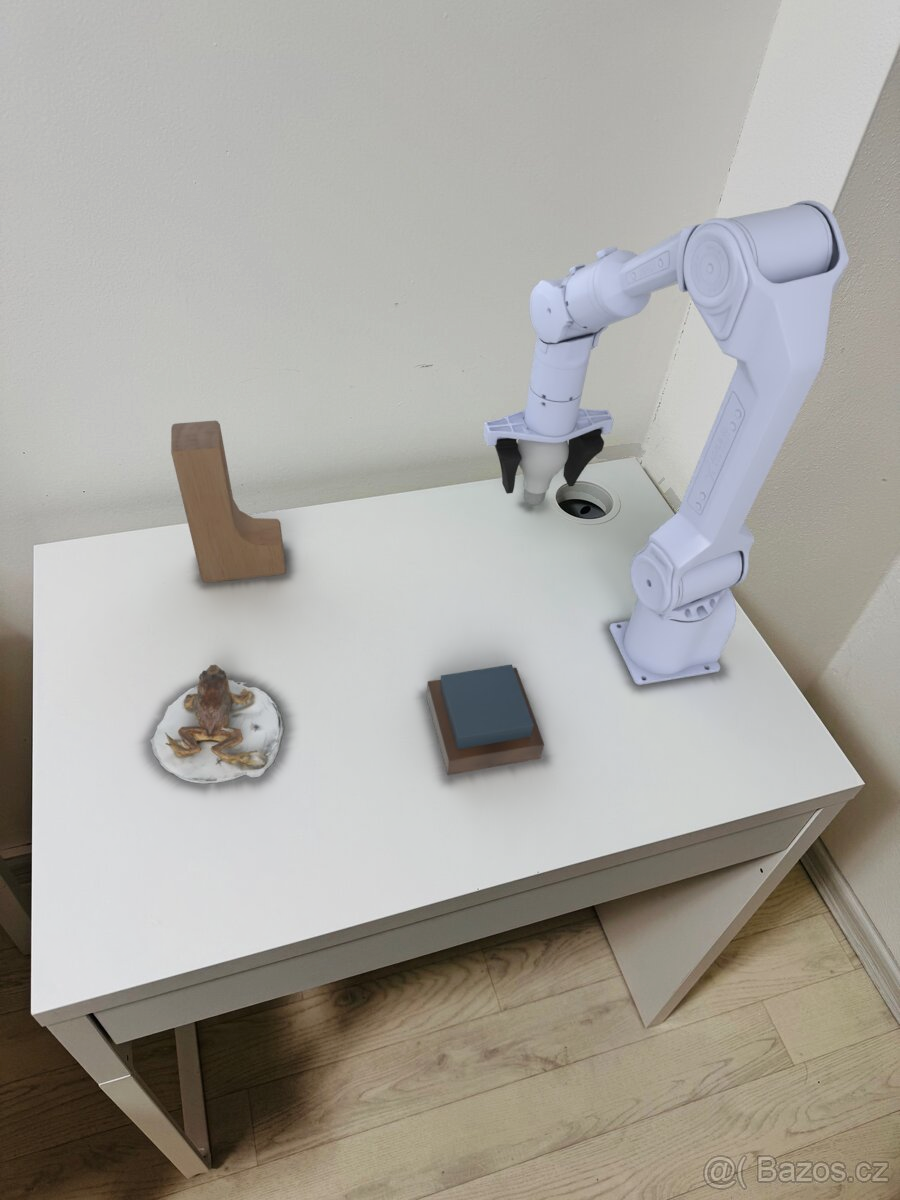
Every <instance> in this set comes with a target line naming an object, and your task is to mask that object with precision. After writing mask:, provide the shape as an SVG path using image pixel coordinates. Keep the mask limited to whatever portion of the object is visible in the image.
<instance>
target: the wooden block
mask: <svg viewBox="0 0 900 1200" xmlns="http://www.w3.org/2000/svg"><path fill="white" fill-rule="evenodd" d="M170 432H171V435H170V438H171V439H170V440H171V441H170V453H171V454H170V455H171V456H172V457H171V458H172V462H173V466H174V470H175V474H176V478H177V482H178V487H179V492H180V496H181V499H182V504H183V508H184V512H185V516H186V520H187V521H186V522H187V524H188V529H189V533H190V537H191V542H192V546H193V549H194V554H195V558H196V562H197V566H198V567H197V568H198V570H199V575H200V579H201V581H202V583H205V584H207V583H216V582H225V581H233V580H243V579H251V578H252V579H253V578H262V577H271V576H280V575H285V574H286V571H287V566H286V557H285V550H284V541H283V534H282V524H281V521H280V520H279V519H278V518H262V517H261V518H260V517H253V516H250V515H249V514H247V513H245V512H243V511H242V510H240V508H239V506H238V505H237V503H236V501H235V499H234V495H233V490H232V489H233V488H232V484H231V479H230V473H229V468H228V462H227V456H226V451H225V444H224V440H223V434H222V429H221V424H220V423H219V421H218V420H205V421H191V422H190V421H189V422H176V423H172V425H171V431H170Z"/></svg>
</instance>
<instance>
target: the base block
mask: <svg viewBox="0 0 900 1200" xmlns="http://www.w3.org/2000/svg"><path fill="white" fill-rule="evenodd" d="M513 669H514V672H515V674H516V677H517V680H518V683H519V686H520V688H521V691H522V694H523V697H524V699H525V702H526V705H527V708H528V711H529V713H530V716H531V719H532V722H533V729H532V733H531V737H526V738H520V739H515V740H509V741H503V742H498V743H492V744H487V745H481V746H475V747H470V748H464V749H458V750H457V747H456V744H455V740H454V736H453V733H452V729H451V726H450V722H449V719H448V715H447V712H446V708H445V705H444V701H443V697H442V694H441V690H440V680H441V678H439V679H433V680H428V681H427V682H426V695H425V697H426V700H427V704H428V708H429V712H430V715H431V719H432V723H433V726H434V731H435V734H436V738H437V741H438V746H439V749H440V753H441V757H442V761H443V764H444V768H445V771H446V775H447V776H451V775H456V774H457V775H458V774H463V773H466V772H467V773H468V772H472V771H473V772H474V771H479V770H484V769H490V768H495V767H500V766H506V765H511V764H516V763H522V762H527V761H533V760H539V759H541V757H542V753H543V750H544V747H545V742H544V740H543V736H542V733H541V732H540V731H541V730H540V728H539V725H538V723H537V720H536V717H535V715H534V713H533V709H532V705H531V704H530V700H529V698H528V695H527V692H526V690H525V686H524V685H523V682H522V678H521V676H520V673H519V671H518V668H517V667H513Z"/></svg>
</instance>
